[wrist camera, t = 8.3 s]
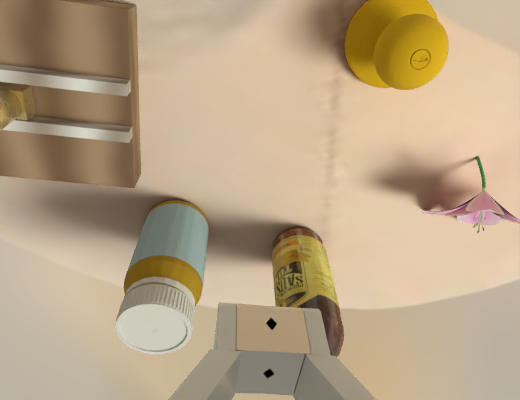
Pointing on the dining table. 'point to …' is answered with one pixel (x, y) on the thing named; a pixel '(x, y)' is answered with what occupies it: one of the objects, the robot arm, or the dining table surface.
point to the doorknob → (396, 43)
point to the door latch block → (72, 91)
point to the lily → (479, 209)
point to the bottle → (164, 279)
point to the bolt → (15, 103)
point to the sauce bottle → (307, 280)
